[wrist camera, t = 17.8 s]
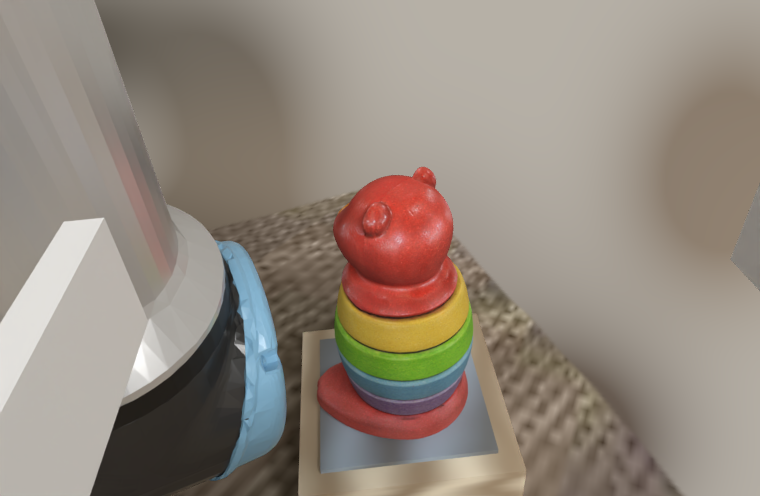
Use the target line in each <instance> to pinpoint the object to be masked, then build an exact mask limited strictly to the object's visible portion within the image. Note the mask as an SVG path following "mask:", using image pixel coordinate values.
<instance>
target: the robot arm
mask: <svg viewBox="0 0 760 496" xmlns="http://www.w3.org/2000/svg"><path fill="white" fill-rule="evenodd" d="M731 260H732V261H733V263H734V264H735V265H736V266H737V267H738V268H739V269H740V270H741V271H742V272H743V273H744V275H745V276H746V277H747V278H748V279H749V280H750V281H751V282H752V283H753V284H754V285H755V286H756V287H757V288H758V290H760V184H759V187H758V189H757V192H756V194H755V197H754V200H753V202H752V205H751V207H750V210H749V213H748V215H747V218H746V220H745V223H744V226H743V228H742V231H741V233H740V236H739V239H738V241H737V244H736V246H735V249H734V252H733V254H732V257H731ZM285 421H286V389H285V380H284V374H283V368H282V364H281V362H280V359H279V357H278V355H277V338H276V331H275V327H274V323H273V319H272V315H271V312H270V308H269V305H268V301H267V298H266V295H265V292H264V289H263V286H262V283H261V281H260V278H259V275H258V273H257V271H256V269H255V267H254V264H253V262H252V260H251V258H250V256H249V254H248V253H247V251H246V250H245V249H244V248H243V247H242V246H241V245H239V244H238V243H236V242H232V241H224V242H219V241H216V240H214V239H213V237H212V236H211V235H210V233H209V232H208V231H207V229H206V228H205V227H204V226H203V225H202V224H201V223H200V222H199V221H197V220H196V219H194V218H193V217H192V216H191V215H189V214H187V213H185V212H184V211H182V210H180V209H177V208H175V207H172V206H170V205H167V204H166V202H165V199H164V197H163V194H162V191H161V188H160V185H159V182H158V180H157V177H156V174H155V171H154V168H153V165H152V163H151V160H150V157H149V154H148V151H147V148H146V146H145V143H144V140H143V137H142V134H141V131H140V129H139V126H138V123H137V120H136V117H135V114H134V112H133V109H132V106H131V103H130V100H129V97H128V95H127V92H126V89H125V86H124V83H123V80H122V78H121V75H120V72H119V69H118V66H117V63H116V61H115V58H114V55H113V52H112V49H111V46H110V44H109V41H108V38H107V35H106V32H105V30H104V27H103V24H102V21H101V18H100V15H99V12H98V10H97V7H96V4H95V1H94V0H0V496H170V495H173V494H175V493H177V492H180V491H182V490H185V489H187V488H190V487H192V486H195V485H197V484H200V483H202V482H205V481H207V480H211V481H216V480H220V479H223V478H225V477H227V476H228V475H229V474H230V473H232V472H233V471H234V470H235V469H236V468H237V467H239V466H241V465H244V464H246V463H248V462H250V461H252V460H254V459H256V458H259V457H261V456H263V455H265V454H266V453H268V452H269V451H270V450H271V449H273V448H274V447H275V446H276V444H277V443H278V441H279V440H280V438H281V436H282V434H283V431H284V427H285Z"/></svg>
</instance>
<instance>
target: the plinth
mask: <svg viewBox="0 0 760 496" xmlns="http://www.w3.org/2000/svg"><path fill="white" fill-rule="evenodd" d="M472 317H473V343H472V348H471V352H470V356H469V359H468V362H467V365H466V367H465V369H464V371H465V374H466V377H467V382H468V396H467V400H466V403H465V406H464V408H463V410H462V412H461V413H460V415H459V416H458V417H457V419H456V420H455V421H454V422H453V423H452V424H450V425H449V426H448V427H447V428H445V429H443V430H442V431H440V432H438V433H436V434H433V435H431V436H428V437H424V438H420V439H413V440H400V439H389V438H382V437H377V436H373V435H369V434H366V433H363V432H360V431H358V430H355V429H353V428H351V427H349V426H347V425H345V424H343V423H341V422H340V421H338V420H337V419H335V418H334V417H332V416H331V415H330V414H328V413H327V412H326V411H325V410H324V409H323V408H322V407H321V406H320V404H319V402H318V400H317V390H318V387H317V384H318V380H319V379H320V377H321V376H322V375H323V374H324V373H325V372H326V371H327V370H328V369H329V368H331V367H332V366H334V365H336V364H338V363H341V362H342V361H341V358H340V355H339V352H338V348H337V343H336V339H335V330H334V329H328V330H319V331H310V332H303V346H302V380H301V415H300V449H299V484H298V496H523V490H524V483H525V477H526V468H525V465H524V462H523V458H522V455H521V452H520V449H519V446H518V443H517V440H516V436H515V433H514V430H513V427H512V424H511V421H510V418H509V414H508V411H507V408H506V405H505V402H504V399H503V396H502V392H501V389H500V386H499V383H498V380H497V377H496V374H495V370H494V367H493V364H492V361H491V358H490V355H489V352H488V348H487V345H486V342H485V339H484V336H483V333H482V330H481V326H480V323H479V320H478V317H477V314H472Z"/></svg>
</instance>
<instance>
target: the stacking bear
mask: <svg viewBox="0 0 760 496" xmlns="http://www.w3.org/2000/svg"><path fill="white" fill-rule="evenodd" d="M435 185H436V179H435V176H434V174H433V172H432V171H431V170H430V169H428V168H426V167H420V168H418V169H417V170H416V171H415V173H414V175H413V177H409V176H403V175H391V176H385V177H381V178H379V179H376V180H374V181H372V182H370V183H369V184H367V185H366V186H364V187H363V188H362V189H361V190H360V191H359V192H358V193H357V194H356V195H355V196H354V198H353V199H352V200H351V202H350V203H349V204H347V205H346V206H344V207H343V208H342V209H341V210H340V211H339V213H338V215H337V217H336V218H335V221H334V226H333V232H334V237H335V240H336V242H337V245H338V247H339V249H340V250H341V252H342V254H343V255H344V257H345V258H346V259H347V260H348V263H347V264H346V266H345V268H344V270H343V273H342V281H341V285H340V289H339V294H338V302H337V306H336V311H335V323H334V330H335V339H336V343H337V348H338V352H339V355H340V358H341V361H342V362H341V363H338V364H336V365H334V366H332V367H331V368H329V369H328V370H327V371H326V372H325V373H324V374H323V375H322V376H321V377H320V379H319V380H318V384H317V387H318V390H317V400H318V402H319V404H320V406H321V407H322V408H323V409H324V410H325V411H326V412H327V413H328V414H330V415H331V416H332V417H334V418H335V419H337V420H338V421H340V422H341V423H343V424H345V425H347V426H349V427H351V428H353V429H355V430H358V431H360V432H363V433H366V434H369V435H373V436H377V437H382V438H389V439H400V440H413V439H420V438H424V437H428V436H431V435H433V434H436V433H438V432H440V431H442V430H443V429H445V428H447V427H448V426H449V425H450V424H452V423H453V422H454V421H455V420H456V419H457V417H458V416H459V415H460V413H461V412H462V410H463V408H464V406H465V403H466V400H467V396H468V382H467V377H466V374H465V371H464V369H465V367H466V365H467V362H468V359H469V356H470V352H471V348H472V343H473V317H472V311H471V305H470V302H469V299H468V293H467V289H466V285H465V282H464V279H463V276H462V274H461V272H460V271H459V269H458V268H457V266H456V265H455V264H454V263H453V262H452V261H451V260H450V258H449V257H448V256H447V253H448V250H449V248H450V244H451V240H452V235H453V218H452V214H451V211H450V208H449V206H448V204H447V203H446V201H445V199H444V198H443V197H442V195H441V194H440V193H439V192H438V191H437V190H436V189H435Z"/></svg>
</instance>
